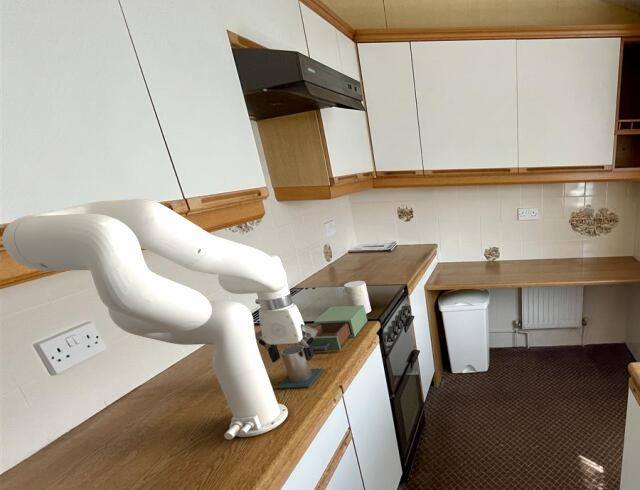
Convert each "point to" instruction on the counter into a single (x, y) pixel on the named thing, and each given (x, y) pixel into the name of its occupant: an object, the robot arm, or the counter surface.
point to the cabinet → (345, 317)
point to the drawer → (330, 336)
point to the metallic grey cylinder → (296, 363)
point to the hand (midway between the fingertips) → (293, 359)
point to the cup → (357, 294)
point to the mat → (304, 384)
